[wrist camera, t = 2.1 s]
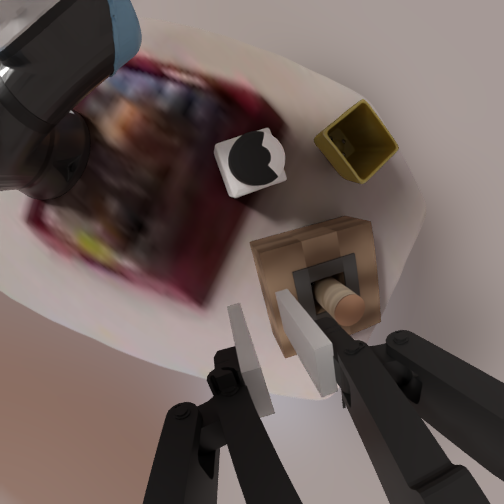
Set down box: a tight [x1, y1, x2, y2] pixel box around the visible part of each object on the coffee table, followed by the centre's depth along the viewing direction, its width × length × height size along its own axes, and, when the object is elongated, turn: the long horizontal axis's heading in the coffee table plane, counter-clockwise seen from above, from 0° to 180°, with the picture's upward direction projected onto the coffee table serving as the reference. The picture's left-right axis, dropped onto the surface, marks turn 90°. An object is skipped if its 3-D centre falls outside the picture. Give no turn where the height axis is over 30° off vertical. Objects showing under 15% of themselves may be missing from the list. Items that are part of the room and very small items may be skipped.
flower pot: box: [314, 99, 399, 184], centre depth 37 cm, size 9×9×9 cm
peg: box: [312, 276, 365, 326], centre depth 35 cm, size 4×4×8 cm
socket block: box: [250, 216, 381, 358], centre depth 41 cm, size 16×16×8 cm
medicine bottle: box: [214, 128, 287, 198], centre depth 35 cm, size 7×7×12 cm
